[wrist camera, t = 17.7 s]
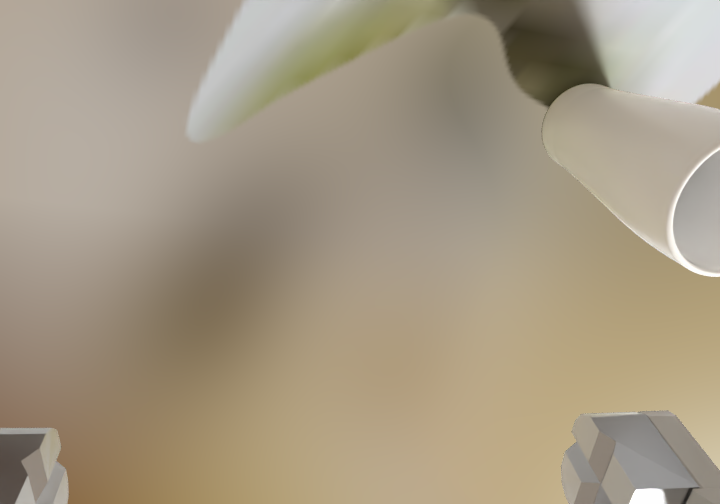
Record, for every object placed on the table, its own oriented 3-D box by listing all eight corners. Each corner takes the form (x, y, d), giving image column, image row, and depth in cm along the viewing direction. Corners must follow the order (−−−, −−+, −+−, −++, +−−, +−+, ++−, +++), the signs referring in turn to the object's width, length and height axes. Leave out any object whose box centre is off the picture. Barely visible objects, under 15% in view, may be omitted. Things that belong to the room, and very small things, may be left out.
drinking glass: (511, 162, 40) (638, 263, 27) (552, 55, 38) (716, 107, 24) (601, 186, 42) (764, 292, 28) (647, 86, 39) (849, 150, 26)
